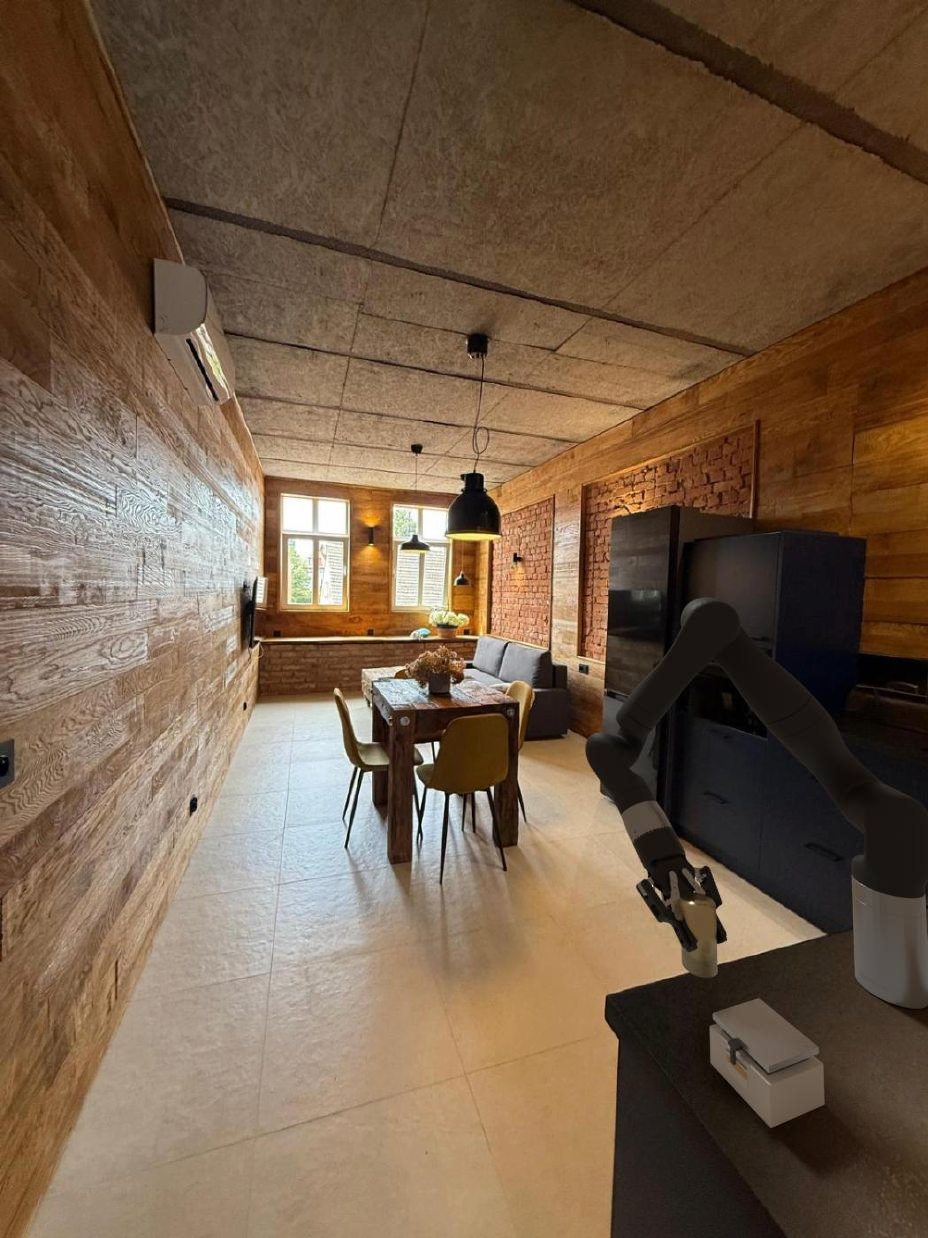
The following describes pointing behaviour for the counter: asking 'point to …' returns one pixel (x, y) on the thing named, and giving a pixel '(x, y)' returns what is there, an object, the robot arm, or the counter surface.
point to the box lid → (764, 1035)
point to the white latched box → (769, 1081)
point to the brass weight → (700, 934)
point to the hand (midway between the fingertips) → (707, 946)
